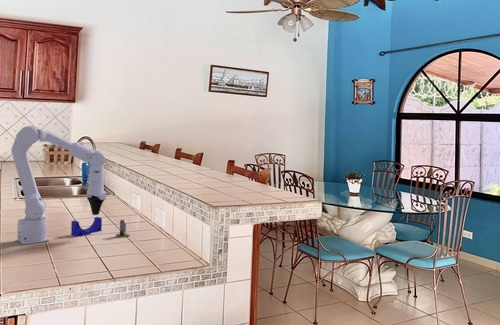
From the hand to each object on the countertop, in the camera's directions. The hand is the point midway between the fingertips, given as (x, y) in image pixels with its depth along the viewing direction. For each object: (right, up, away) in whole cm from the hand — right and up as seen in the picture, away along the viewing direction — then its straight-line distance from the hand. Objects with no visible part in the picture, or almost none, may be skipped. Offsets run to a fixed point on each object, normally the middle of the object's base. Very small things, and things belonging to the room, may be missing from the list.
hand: (95, 214), depth 162 cm
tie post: (+10, -10, +4) cm, 14 cm away
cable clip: (-6, -9, +6) cm, 12 cm away
